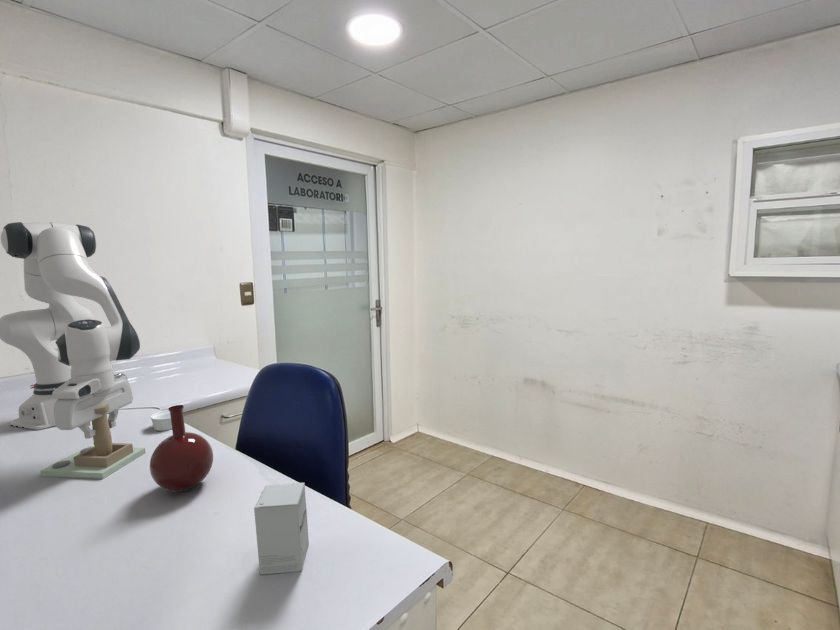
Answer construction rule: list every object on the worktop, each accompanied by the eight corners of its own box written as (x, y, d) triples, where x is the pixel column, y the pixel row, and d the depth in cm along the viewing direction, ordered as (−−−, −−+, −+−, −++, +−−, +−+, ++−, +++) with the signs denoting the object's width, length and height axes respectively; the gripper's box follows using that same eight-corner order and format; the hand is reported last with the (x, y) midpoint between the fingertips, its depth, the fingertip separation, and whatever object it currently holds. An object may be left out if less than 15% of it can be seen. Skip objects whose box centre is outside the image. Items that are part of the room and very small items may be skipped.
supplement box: (302, 572, 73) (297, 504, 72) (258, 575, 73) (252, 507, 71) (310, 543, 81) (305, 481, 79) (270, 546, 80) (264, 484, 78)
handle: (94, 466, 111) (86, 411, 108) (93, 457, 116) (85, 404, 113) (117, 460, 114) (109, 406, 111) (115, 451, 119) (108, 400, 116)
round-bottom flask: (150, 509, 93) (139, 422, 90) (155, 482, 105) (145, 404, 102) (217, 492, 99) (208, 410, 96) (214, 468, 111) (206, 394, 108)
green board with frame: (40, 476, 109) (38, 461, 109) (89, 450, 123) (87, 437, 123) (103, 478, 107) (101, 463, 107) (145, 452, 121) (143, 439, 120)
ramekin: (181, 419, 146) (180, 406, 145) (184, 427, 139) (183, 414, 138) (151, 425, 141) (149, 412, 140) (152, 434, 134) (151, 421, 133)
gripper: (115, 370, 122) (122, 416, 124) (45, 394, 102) (54, 449, 104) (135, 371, 121) (141, 417, 123) (68, 395, 101) (76, 449, 103)
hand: (101, 432), depth 113 cm, fingers open, 5 cm apart
